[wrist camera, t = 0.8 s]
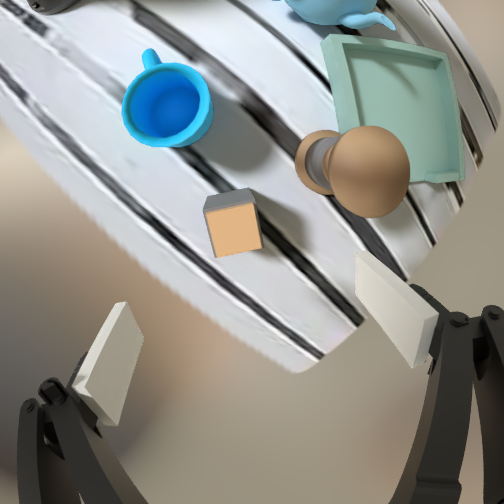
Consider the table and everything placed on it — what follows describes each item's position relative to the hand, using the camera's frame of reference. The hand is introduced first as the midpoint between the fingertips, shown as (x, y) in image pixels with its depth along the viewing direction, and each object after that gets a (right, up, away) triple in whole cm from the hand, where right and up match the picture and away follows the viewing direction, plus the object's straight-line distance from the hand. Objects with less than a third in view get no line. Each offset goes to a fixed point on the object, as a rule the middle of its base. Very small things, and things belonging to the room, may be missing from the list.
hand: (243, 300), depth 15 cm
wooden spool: (+10, +14, +17) cm, 24 cm away
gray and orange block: (-2, +7, +18) cm, 20 cm away
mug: (-9, +20, +13) cm, 25 cm away
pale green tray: (+21, +22, +15) cm, 33 cm away
